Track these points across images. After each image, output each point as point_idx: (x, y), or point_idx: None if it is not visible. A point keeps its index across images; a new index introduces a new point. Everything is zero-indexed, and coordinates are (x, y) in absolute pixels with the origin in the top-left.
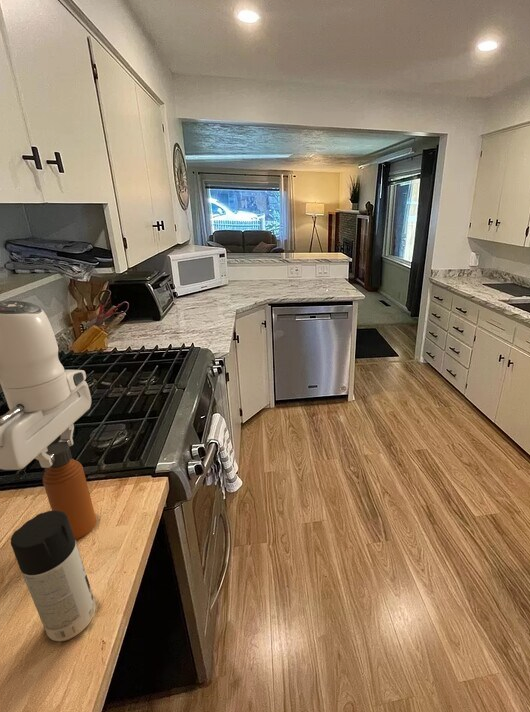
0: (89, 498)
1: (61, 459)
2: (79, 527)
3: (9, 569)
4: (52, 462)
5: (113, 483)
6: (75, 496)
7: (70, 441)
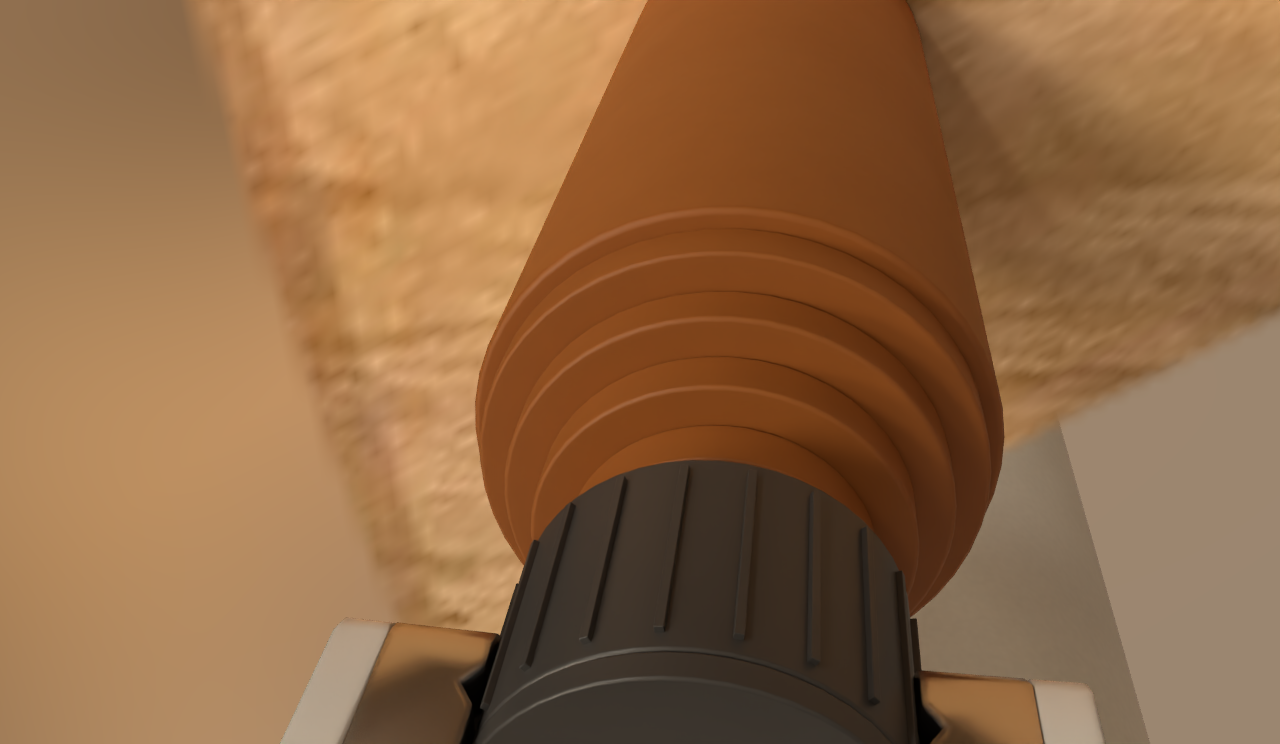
0: (710, 25)
1: (852, 604)
2: (901, 15)
3: (1133, 375)
4: (1017, 710)
5: (216, 30)
6: (893, 130)
7: (371, 707)
